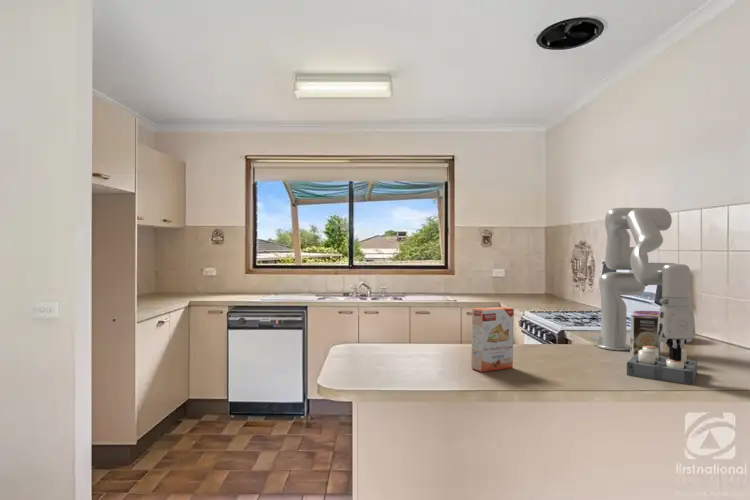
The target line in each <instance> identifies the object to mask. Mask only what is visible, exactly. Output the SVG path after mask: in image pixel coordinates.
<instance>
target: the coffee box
mask: <svg viewBox="0 0 750 500" xmlns="http://www.w3.org/2000/svg"><path fill="white" fill-rule="evenodd" d="M629 346H630V350H629V357H630V359H631V358H632V357H634V356H635V355H636V354H638V351H639V350H641V349H643V347H644V346H655V347H657V348H659V356H661V341H659V335H658V317H651V316H635V315H633V314H631V315H630V344H629Z"/></svg>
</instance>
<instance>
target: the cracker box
mask: <svg viewBox="0 0 750 500" xmlns="http://www.w3.org/2000/svg"><path fill="white" fill-rule="evenodd" d="M514 317H515V309H514V308H512V307H508V306H507V307H506V306H496V307H495V306H494V307H476V308H472V317H471V318H472V325H471V369H472V370H476V371H478V372H481V373H483V372H484V373H485V372H492V371H498V370H500V371H501V370H507V369H513V368H514V367H513V366H514V365H513V364H514V362H513V361H514V326H515V325H514V319H515V318H514Z"/></svg>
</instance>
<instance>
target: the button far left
mask: <svg viewBox="0 0 750 500" xmlns="http://www.w3.org/2000/svg"><path fill="white" fill-rule="evenodd" d="M643 349H646V350H652V351H654V352H655V360H657V361H659V348H657V347H655V346H644V347H643Z"/></svg>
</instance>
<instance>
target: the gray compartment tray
mask: <svg viewBox="0 0 750 500" xmlns="http://www.w3.org/2000/svg"><path fill="white" fill-rule="evenodd" d="M667 359H669V357H667V356H662V355H660V356H659V361H657V360H655V365H650V364H642V363H638V354H636V355H635V356H634V357H632V358H631V357H630V359H628V361H627V362H626V376H630V377H631V376H632V377H638V378H645V379H651V380H657V381H658V380H660V381H665V382H673V383H680V384H685V383H686V384H687V385H693V383H694V381H695V378H696V376H697V373H698V360H694V359H693V360H692V359H686V364H684V369H680V368H673V367H666V360H667Z"/></svg>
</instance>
